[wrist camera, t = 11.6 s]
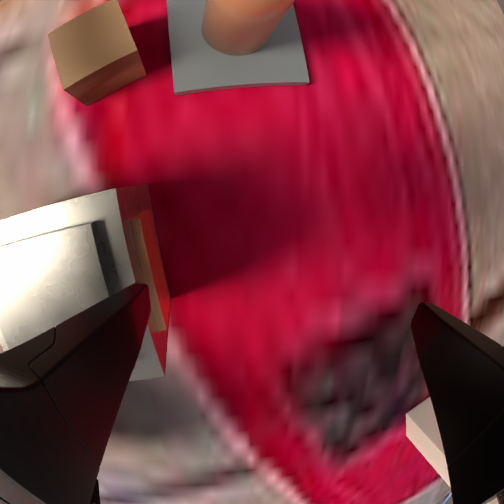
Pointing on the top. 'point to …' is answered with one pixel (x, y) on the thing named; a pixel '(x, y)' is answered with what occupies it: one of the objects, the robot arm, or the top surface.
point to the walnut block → (96, 53)
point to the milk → (428, 437)
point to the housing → (83, 267)
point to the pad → (228, 66)
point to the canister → (241, 23)
